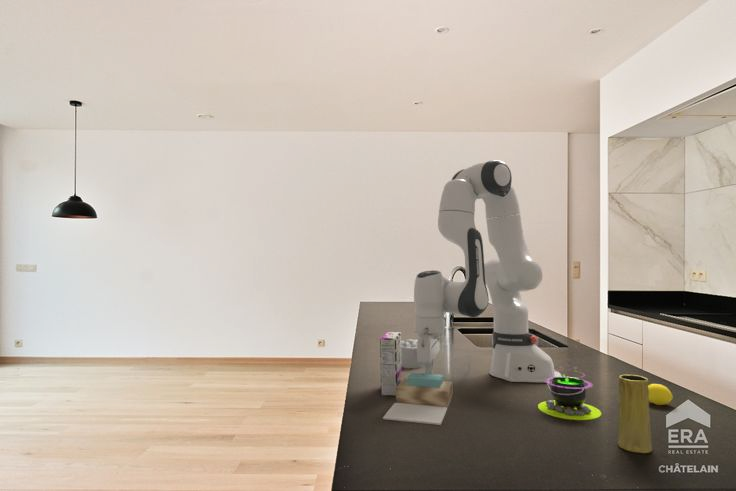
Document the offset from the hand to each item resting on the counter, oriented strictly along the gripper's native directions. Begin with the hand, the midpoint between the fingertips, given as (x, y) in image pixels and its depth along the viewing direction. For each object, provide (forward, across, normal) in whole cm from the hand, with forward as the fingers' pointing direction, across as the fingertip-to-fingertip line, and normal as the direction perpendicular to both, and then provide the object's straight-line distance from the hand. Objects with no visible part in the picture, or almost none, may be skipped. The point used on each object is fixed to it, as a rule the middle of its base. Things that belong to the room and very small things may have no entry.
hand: (429, 373), depth 136 cm
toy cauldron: (+6, -6, -37) cm, 38 cm away
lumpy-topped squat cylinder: (+5, +32, +12) cm, 34 cm away
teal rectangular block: (+1, -7, 0) cm, 7 cm away
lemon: (+5, +5, -60) cm, 61 cm away
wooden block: (+5, -8, 0) cm, 10 cm away
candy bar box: (+5, -3, +11) cm, 12 cm away
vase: (+5, -28, -47) cm, 55 cm away
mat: (+5, -21, 0) cm, 21 cm away
